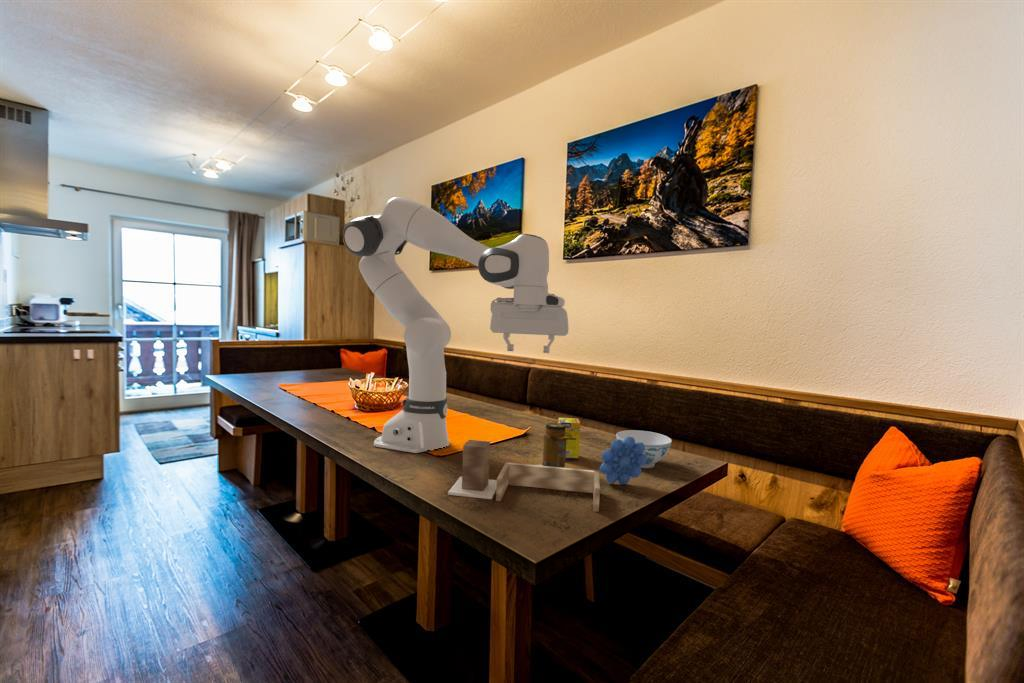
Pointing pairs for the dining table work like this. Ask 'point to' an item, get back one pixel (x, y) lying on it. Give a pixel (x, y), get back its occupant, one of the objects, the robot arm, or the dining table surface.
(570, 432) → the supplement box
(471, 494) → the coaster
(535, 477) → the u-shaped barrier
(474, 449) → the walnut block
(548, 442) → the condiment
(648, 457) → the chinaware
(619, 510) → the dining table surface
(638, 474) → the grapes
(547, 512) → the dining table surface
